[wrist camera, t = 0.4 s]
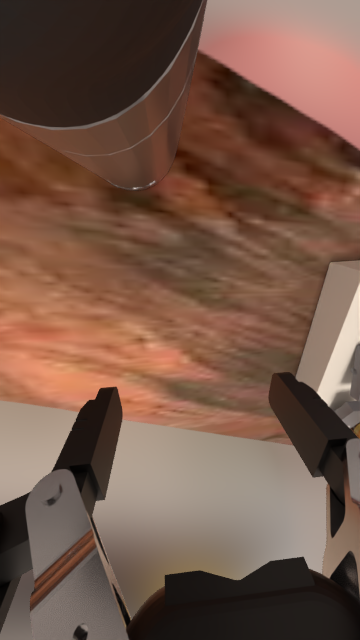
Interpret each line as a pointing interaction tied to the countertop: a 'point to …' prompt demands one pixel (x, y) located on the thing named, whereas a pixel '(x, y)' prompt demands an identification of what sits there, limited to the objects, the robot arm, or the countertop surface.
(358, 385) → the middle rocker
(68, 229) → the countertop surface
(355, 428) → the sauce bottle
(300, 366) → the switch console
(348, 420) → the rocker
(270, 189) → the countertop surface
